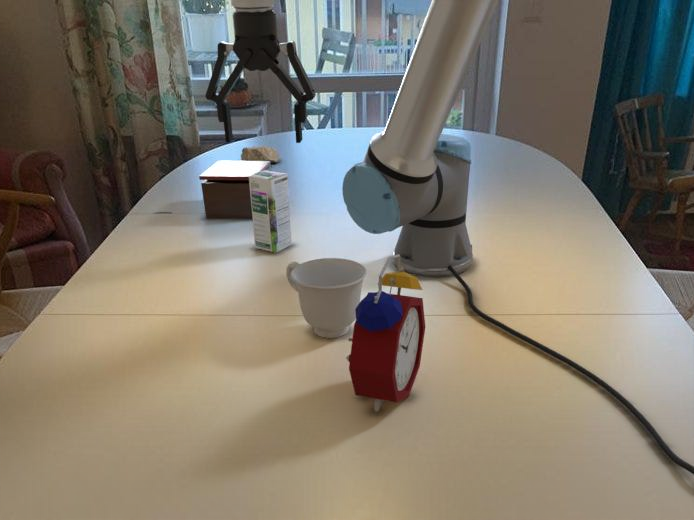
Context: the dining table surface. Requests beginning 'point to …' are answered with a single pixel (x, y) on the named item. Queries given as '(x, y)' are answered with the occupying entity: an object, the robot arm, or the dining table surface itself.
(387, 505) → the dining table surface
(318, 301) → the teacup
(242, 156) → the stone
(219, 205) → the chest
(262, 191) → the syrup box
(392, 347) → the alarm clock
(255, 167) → the lid
